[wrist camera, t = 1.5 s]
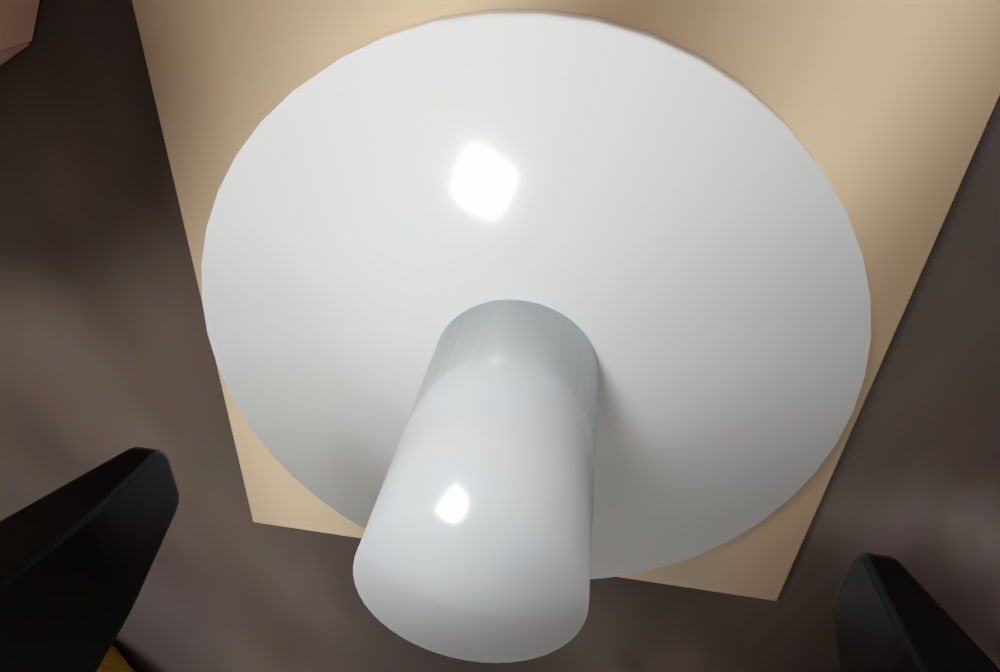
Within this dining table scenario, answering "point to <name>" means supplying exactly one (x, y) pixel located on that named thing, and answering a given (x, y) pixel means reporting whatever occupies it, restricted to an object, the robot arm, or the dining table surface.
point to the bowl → (16, 26)
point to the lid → (532, 314)
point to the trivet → (696, 26)
